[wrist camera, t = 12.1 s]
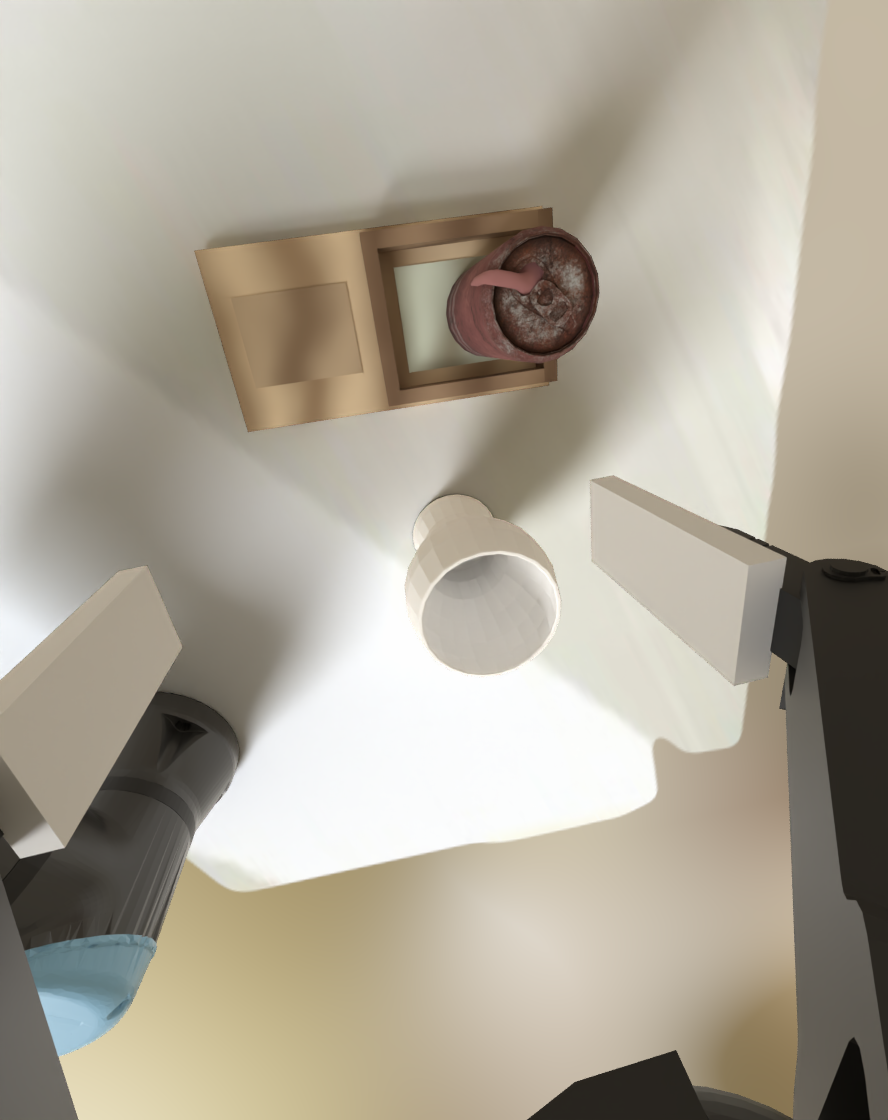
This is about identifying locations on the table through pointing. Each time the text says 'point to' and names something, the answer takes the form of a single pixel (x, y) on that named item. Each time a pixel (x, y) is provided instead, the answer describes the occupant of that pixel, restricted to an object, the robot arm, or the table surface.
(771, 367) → the table surface
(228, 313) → the holder board
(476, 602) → the cup
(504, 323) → the can
